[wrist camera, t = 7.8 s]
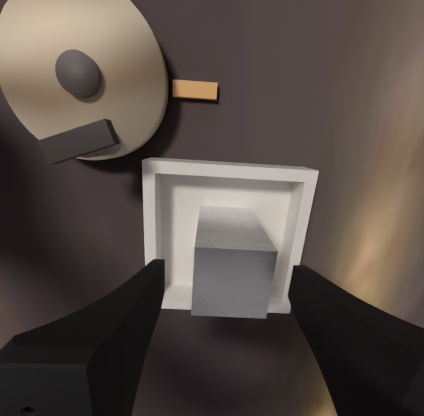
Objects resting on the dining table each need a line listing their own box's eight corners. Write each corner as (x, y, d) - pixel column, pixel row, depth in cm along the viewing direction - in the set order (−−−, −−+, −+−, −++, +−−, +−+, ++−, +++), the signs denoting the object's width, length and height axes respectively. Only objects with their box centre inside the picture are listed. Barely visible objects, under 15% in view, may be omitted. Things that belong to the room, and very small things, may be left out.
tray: (154, 287, 20) (146, 307, 17) (151, 157, 16) (141, 159, 14) (279, 292, 20) (289, 313, 18) (302, 166, 17) (318, 170, 14)
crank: (-16, 20, 13) (-149, -52, 8) (134, -36, 13) (87, -151, 8) (61, 175, 16) (-4, 189, 11) (188, 135, 16) (178, 132, 11)
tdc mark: (173, 97, 15) (172, 96, 15) (173, 81, 15) (172, 79, 14) (216, 100, 15) (216, 99, 15) (217, 84, 15) (217, 82, 14)
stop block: (197, 250, 18) (190, 315, 11) (200, 205, 17) (194, 246, 10) (244, 253, 18) (266, 318, 12) (250, 208, 17) (277, 251, 10)
